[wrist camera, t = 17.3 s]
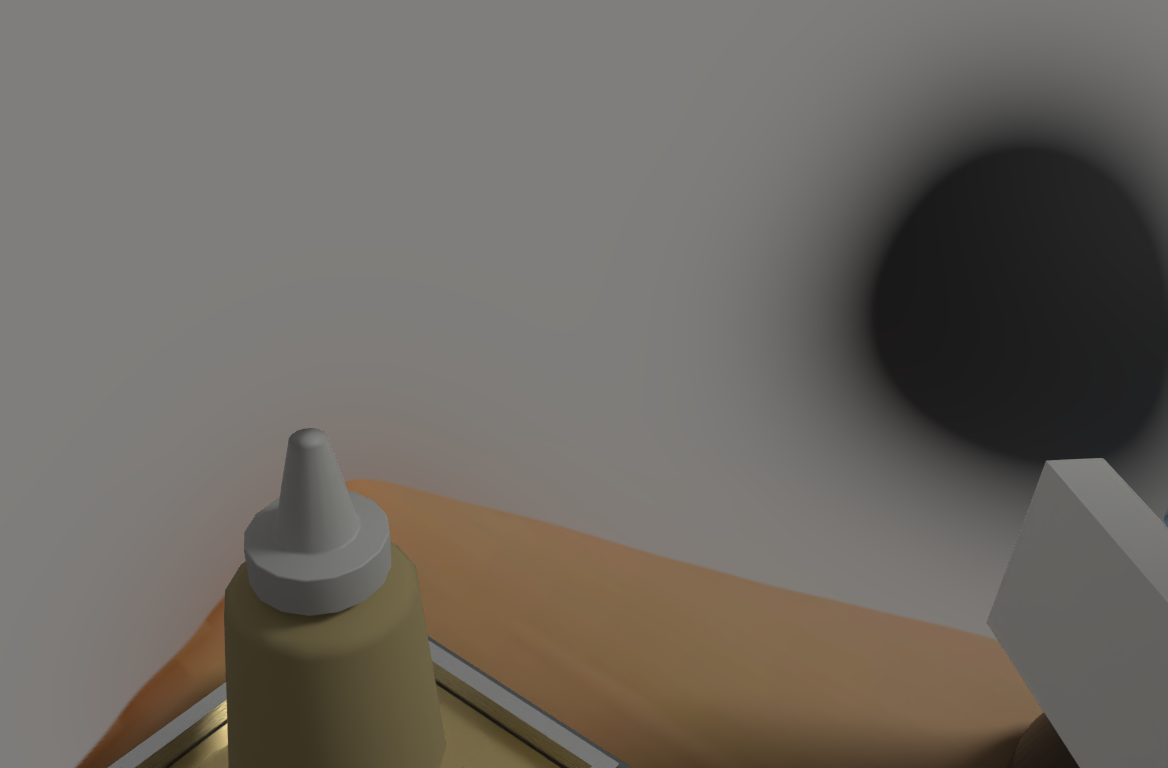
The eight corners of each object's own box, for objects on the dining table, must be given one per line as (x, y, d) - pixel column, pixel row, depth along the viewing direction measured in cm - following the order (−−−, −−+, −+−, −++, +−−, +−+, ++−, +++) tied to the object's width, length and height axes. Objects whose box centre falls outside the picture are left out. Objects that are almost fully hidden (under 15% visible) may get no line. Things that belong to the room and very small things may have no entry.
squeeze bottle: (197, 809, 42) (116, 435, 32) (363, 694, 47) (335, 344, 37) (322, 949, 37) (271, 566, 28) (489, 806, 42) (495, 442, 33)
